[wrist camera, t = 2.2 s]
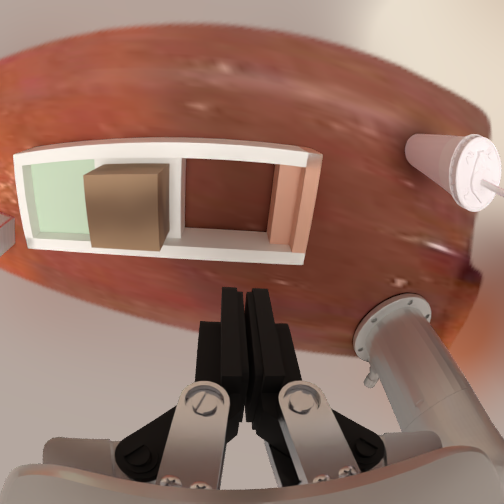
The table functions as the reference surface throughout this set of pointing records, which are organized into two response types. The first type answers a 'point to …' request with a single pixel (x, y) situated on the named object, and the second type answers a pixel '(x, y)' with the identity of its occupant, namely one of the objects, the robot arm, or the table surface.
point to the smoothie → (459, 166)
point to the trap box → (179, 237)
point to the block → (128, 206)
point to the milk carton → (6, 232)
